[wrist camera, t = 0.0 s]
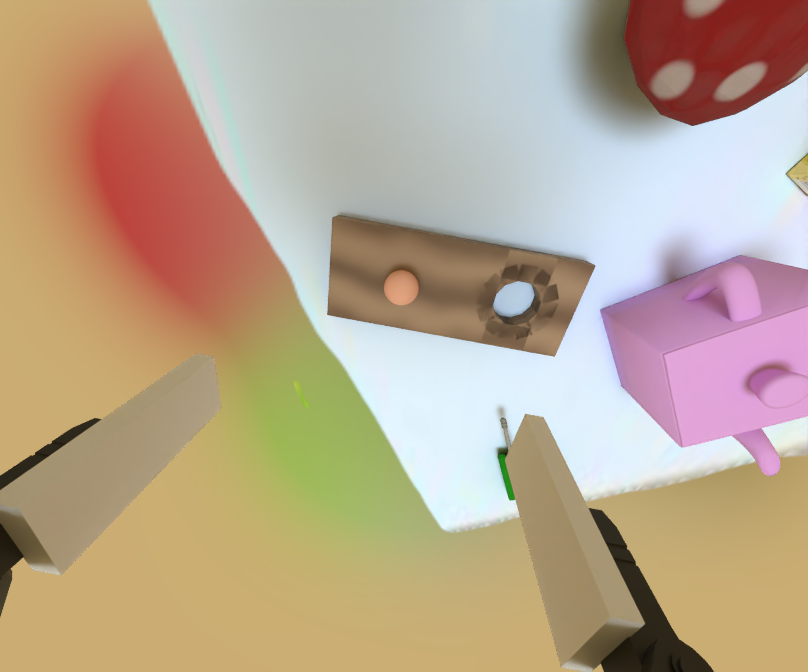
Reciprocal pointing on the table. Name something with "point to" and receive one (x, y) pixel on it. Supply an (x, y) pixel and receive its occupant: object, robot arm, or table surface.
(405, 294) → the coral ball
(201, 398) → the robot arm
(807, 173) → the candy box
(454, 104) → the table surface
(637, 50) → the decorative mushroom
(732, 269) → the teapot
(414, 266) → the walnut board
